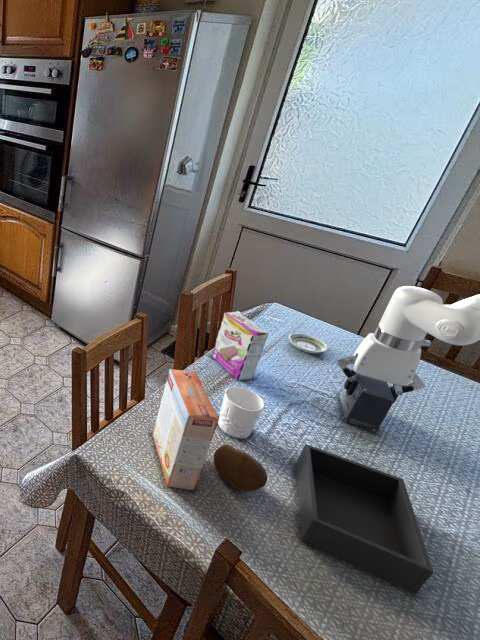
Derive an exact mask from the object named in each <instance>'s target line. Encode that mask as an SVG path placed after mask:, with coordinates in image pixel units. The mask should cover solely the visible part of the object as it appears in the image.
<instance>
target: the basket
mask: <svg viewBox="0 0 480 640" xmlns="http://www.w3.org/2000/svg"><path fill="white" fill-rule="evenodd" d="M295 470H296V471H295V472H296V473H295V474H296V485H297V486H296V487H297V502H298V512H299V526H300V527H299V528H300V540H301V542H303V543H304V544H307V545H309V546H311V547H313V548H316V549H317V550H320V551H322V552H323V553H326V554H328V555H331V556H334V557H335V558H337V559H339V560H341V561H344V562H346V563H348V564H350V565H353V566H355V567H356V568H359V569H361V570H363V571H365V572H367V573H369V574H372V575H374V576H377V577H379V578H380V579H383V580H384V581H387V582H389V583H392V584H394V585H396V586H398V587H400V588H402V589H405V590H407V591H409V592H411V593H413V594H415V595H416V594H417V593H418V592H419V591H420V589H421V588H422V587H423V586H424V585H425V583H426V582H427V581H428V580H429V579H430V577H431V576H432V575H433V574H434V570H433V567H432V564H431V561H430V558H429V554H428V551H427V549H426V545H425V542H424V538H423V536H422V533H421V529H420V527H419V523H418V520H417V517H416V514H415V511H414V508H413V505H412V502H411V498H410V495H409V492H408V489H407V486H406V484H405V481H404V479H403V478H401V477H398V476H395V475H393V474H390V473H387V472H385V471H382V470H378V469H377V468H373V467H371V466H369V465H365V464H362V463H360V462H357V461H355V460H351V459H349V458H346V457H343V456H341V455H338V454H335V453H333V452H329V451H327V450H325V449H321V448H319V447H315V446H312V445H310V444H307V443H305V444H304V445H303V448H302V450H301V452H300V454H299V456H298V457H297V460H296V463H295Z"/></svg>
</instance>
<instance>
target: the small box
mask: <svg viewBox="0 0 480 640" xmlns="http://www.w3.org/2000/svg"><path fill="white" fill-rule="evenodd" d="M356 382H357V385H356V387H355V389H354V391H353V393H352V395H347V391H346V389H344V388H343V389H342V391H341V393H340V395H339V401H340V406H341V411H342V417H343V420H344V422H345V423H347V424H350V425H353V426H357V427H360V428H363V429H365V430H369V431H371V432H375V433H377V432H378V430H379V429H380V427H381V425H382V423H383V421H384V420H385V418H386V417H387V414H388V413H389V412H390V409H391V408H392V406H393V404H395V403H394V398H393V396H392V393H391V391H390V388H389V387H390V386H389V384H388V382H385V381H381V380H377V379H374V378H370V377H367V376H363V377H361V378H359V379H358V380H356Z"/></svg>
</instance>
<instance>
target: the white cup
mask: <svg viewBox="0 0 480 640" xmlns="http://www.w3.org/2000/svg"><path fill="white" fill-rule="evenodd" d="M221 402H222V403H221V406H220V411H219V417H218V419H219V421H218V424H217V425H218V427H219V428H220V429H221V430H222V431H223V433H225V434H227V435H229V436H230V437H232V438H236V439H247V438H249V437H250V435H251V433H252V431H253V429H255V426H256V424H257V422H258V420H259V418H260V417H261V414H262V412H263V410H264V407H265V402H264V400H263V399H262V397H260V395H258V394H257V393H256V392H254V391H252V390H250V389H248V388H246V387H243V386H233V385H232V386H228V387H227V388H226V389H225V390H224V394H223V399H222V401H221Z"/></svg>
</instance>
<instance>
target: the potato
mask: <svg viewBox="0 0 480 640" xmlns="http://www.w3.org/2000/svg"><path fill="white" fill-rule="evenodd" d="M213 465H214V468H215V469H216V472H217V473H218V474H219V475H220V477H221V478H222V479H223V480H224V481H225V482H226V483H228V484H229V485H231V487H233V488H234V489H236V490H238V491H239V492H240V491H241V492H253V491H257V490H260V489H262V488H264V487H265V486H266V485H267V481H268V474H267V471H266V469H265V468H264V466H263V465H262V464H261V462H259V461H257V459H255V458H254V457H253V456H251V455H250V454H248V453H247V452H245V451H243V450H240V449H237V448H235V447H234V446H232V445H230V444H228V443H226V444H222V445H220V446H219V447H218V448H217V449H216V450H215V451H214V454H213Z"/></svg>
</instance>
